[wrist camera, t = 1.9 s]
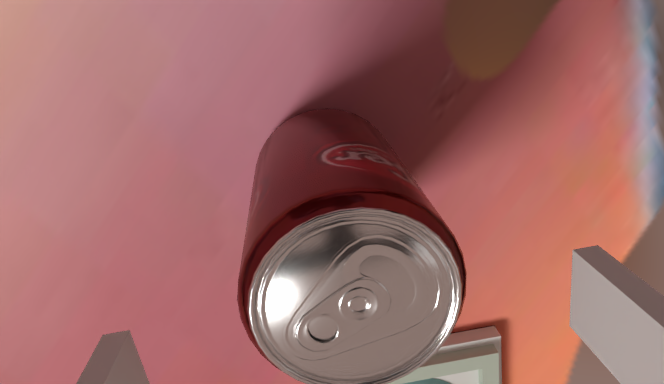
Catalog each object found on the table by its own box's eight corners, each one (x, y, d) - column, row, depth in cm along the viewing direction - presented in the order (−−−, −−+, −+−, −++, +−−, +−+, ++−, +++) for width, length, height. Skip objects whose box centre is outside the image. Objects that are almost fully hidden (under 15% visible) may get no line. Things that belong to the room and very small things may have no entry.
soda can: (346, 77, 24) (402, 147, 13) (416, 189, 27) (511, 328, 16) (227, 156, 25) (183, 284, 14) (305, 257, 28) (321, 433, 16)
